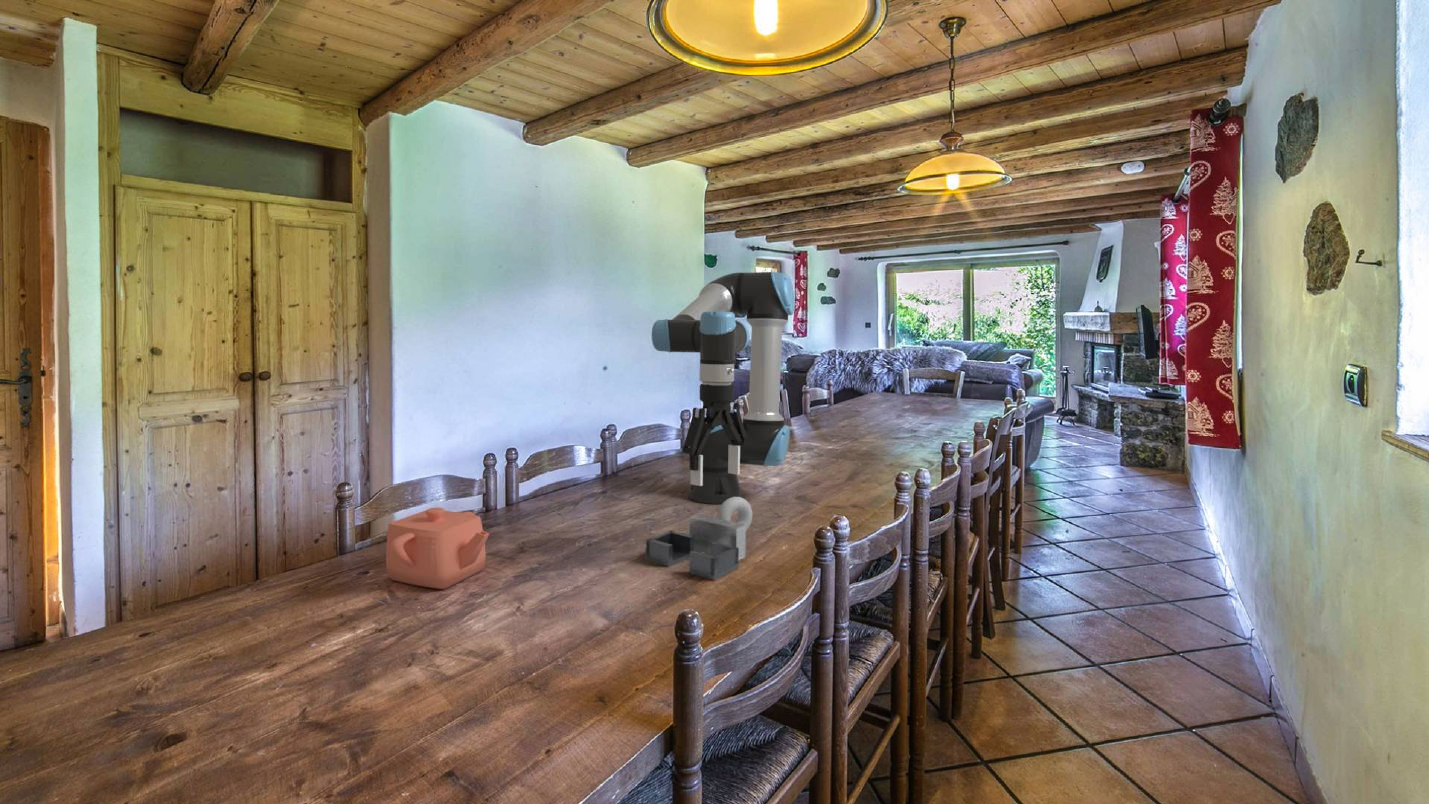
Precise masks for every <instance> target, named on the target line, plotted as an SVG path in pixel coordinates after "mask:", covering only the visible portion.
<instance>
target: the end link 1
mask: <svg viewBox="0 0 1429 804" xmlns="http://www.w3.org/2000/svg"><path fill="white" fill-rule="evenodd" d="M645 542H646V543H645V544H646V547H645V550H646V554H645V555H646V557H645V559H646V561H648V562H651V563H655V564H658V565H661V566H664V567H668V568H670V567H673V566H674V565H676V564H679V563H681V562H683V561H686V560H688V559H690V552H691V551H695V550H694V536H691V535H689V534H687V533H683V532H679V531H675V530H670V531H666V532H664V533H661V534H659V535H656V536H654V537H651V538H647V539H646V541H645Z"/></svg>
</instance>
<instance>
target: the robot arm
mask: <svg viewBox="0 0 1429 804" xmlns="http://www.w3.org/2000/svg"><path fill="white" fill-rule="evenodd" d="M795 299H796V298H795V291H794V286H793V282H792V278H791V277H790V275H788V274H787V273H786V272H776V271H767V272H766V271H765V272H764V271H763V272H761V271H759V272H756V271H755V272H732V273H728V274H726V275H722V276H720V277H717V278H716V279H714V280H712V281H710V282H709V283H708V284H706V285H705V286H704V287H702V288H701V290H700V292H699V294H698V297H696V299H694V300H693V301H692V302H690V303H689V305H687V306H686V307H685V308H684V309H683V310H682V311H680V312H679V313H678V314H677V315H676V316H674V318H672V319H668V318H665V319H657V320H656V321H655V322H654V323H653V325H652V328H651V342H652V346H653V348H654V349H655V350H656V351H659V352H667V353H699V377H698V378H699V381H700V382H701V383H700V385H699V400H700V402H702V407H693V409H692V414H691V421H690V423H689V426H688V430H687V432H686V433H687V434H686V436H685V441H684V443H683V447H682V449H681V450H682V453H684V454H686V455H689V470H690V487H689V490H688V491H689V494H688V495H689V499H691V500H692V501H694V502H697V503H702V504H708V505H709V504H710V505H711V504H714V505H718V504H719V505H722V503H723V502H724V501H726V500H727V499H729V498H732V497H741V498H742V489H741V486H740V483H739V478H738V475H740V473H741V471H740V470H741V467H740V466H741V465H749V466H763V467H765V468H767V467H779V466H780V465H782V464H783V463H784V461H785V459H786V455H787V453H788V448H789V444H790V443H789V442H790V435H791V434H790V433H791V432H790V426H788V425H786V424H785V417H783V415H781V414H780V398H781V397H780V394H781V391H780V390H781V369H782V346H783V345H782V344H783V343H782V342H783V341H782V340H783V328H784V326H785V325H787V323H788V322H789V316H792V315H794V314H795V306H796V303H795ZM736 315H746V322H747V323H748V324H749V325H750V327H751V331H749V328H748V327H747V326H746V325H745V324H744V323H743V322H741V321H739V320H736ZM750 332H751V336H750ZM750 339H751V340H750ZM749 342H750V361H749V362H750V364H749V390H748V391H749V395H748V411H747V412H746V414H745V415H744V416H743V417H741V411H740V403H739V402H734V400H735V385H734V384H732V383H733V382H734V381H735V355H736V354H738V353H740V352H742V351H743V350H744V349H745V348H747V346H748V344H749Z"/></svg>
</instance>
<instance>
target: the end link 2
mask: <svg viewBox="0 0 1429 804" xmlns="http://www.w3.org/2000/svg"><path fill="white" fill-rule="evenodd" d="M739 561H740V560H739V548H737V547H734V546H730V545H726V544H722V543H718V542H712V543H711V555H710V554H706V553H703V552H699V551H695V550H694V551H691V552H690V558H689V574H691V575H694V576H697V577H701V578H704V579H708V580H711V581H713V582H714V581H717V580H718V579H721V578H723V577H724V576H727V575H728V574H731V573H733V572H735V571H737V570H738V569H739Z"/></svg>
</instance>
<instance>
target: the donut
mask: <svg viewBox="0 0 1429 804" xmlns="http://www.w3.org/2000/svg"><path fill="white" fill-rule="evenodd" d="M734 512H738V517H737V520H736V521H735V522H736V523H741V524H745V525H746V532H747V531H748V529H749V528H750V526H751V524H752V521H753V510H752V507H751V504H750V502H748V501H747V500H746V499H745V498H743V497H742V496H741V497H732V498H729V499H727V500H726V501H724V502H723V503H722V504H720V506H719V508H718V510H717V512H716V517H715V518H719V519H723V520H728V521H731V518H732V515H733V513H734Z"/></svg>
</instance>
